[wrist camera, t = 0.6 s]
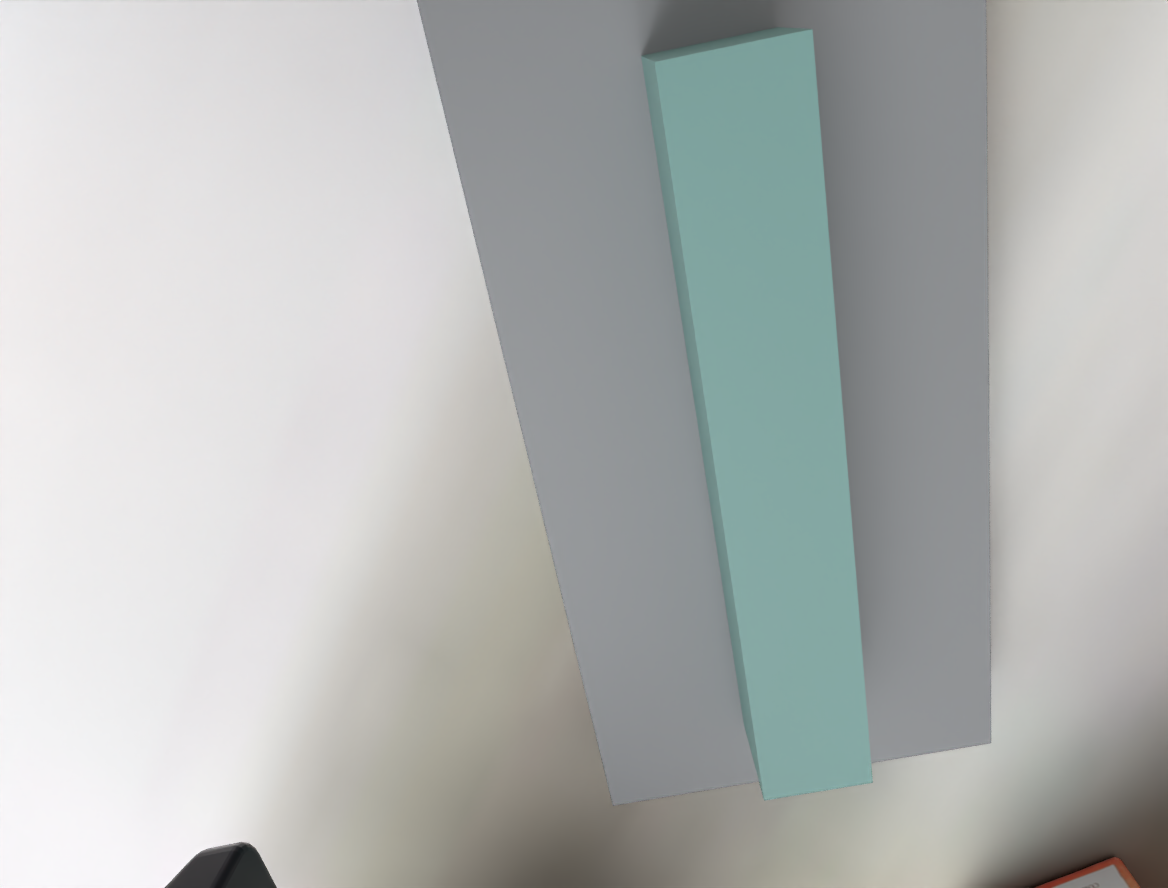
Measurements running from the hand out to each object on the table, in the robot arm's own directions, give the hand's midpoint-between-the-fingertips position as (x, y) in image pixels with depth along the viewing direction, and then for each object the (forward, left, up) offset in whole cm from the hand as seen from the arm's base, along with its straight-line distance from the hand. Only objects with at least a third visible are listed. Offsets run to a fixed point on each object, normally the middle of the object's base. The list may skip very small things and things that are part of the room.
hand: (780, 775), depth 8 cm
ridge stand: (-3, -2, -14) cm, 14 cm away
